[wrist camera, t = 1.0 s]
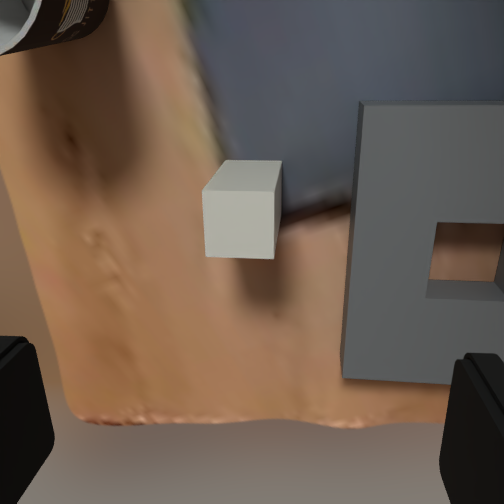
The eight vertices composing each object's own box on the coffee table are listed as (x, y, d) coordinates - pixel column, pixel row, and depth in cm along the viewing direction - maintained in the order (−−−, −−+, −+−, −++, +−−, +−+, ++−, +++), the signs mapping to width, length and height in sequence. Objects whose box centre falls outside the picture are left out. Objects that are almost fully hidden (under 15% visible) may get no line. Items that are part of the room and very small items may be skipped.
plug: (225, 160, 33) (201, 190, 25) (281, 160, 32) (274, 191, 25) (227, 213, 34) (205, 256, 27) (281, 215, 34) (273, 259, 26)
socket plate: (359, 100, 30) (364, 105, 27) (623, 100, 28) (656, 105, 26) (339, 354, 38) (342, 378, 35) (545, 366, 36) (564, 391, 34)
